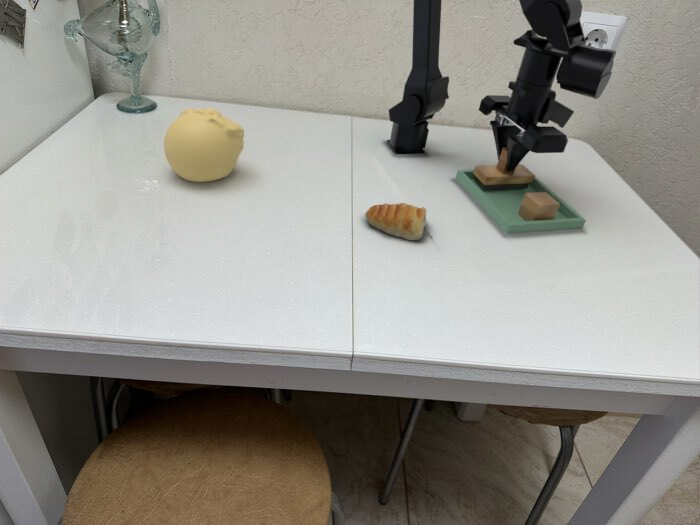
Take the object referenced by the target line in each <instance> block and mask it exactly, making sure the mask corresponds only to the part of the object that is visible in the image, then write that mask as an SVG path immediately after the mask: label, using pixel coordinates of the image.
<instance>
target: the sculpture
mask: <svg viewBox="0 0 700 525" xmlns="http://www.w3.org/2000/svg"><path fill="white" fill-rule="evenodd" d="M244 137H245V130H244V128H243V126H242V125H240V124H239V123H237V122H235V121H233V120H231V119H229V118H227V116H224V115H223V114H222V113H221V112H220V111H218V110H217V109H215V108H212V107H207V108H198V109H195V108H185V109H183V110H181V112H180V115H179V116H178V117H176V119H174V120H173V121H172V122H171V123H170V125H169V127H168V128H167V130H166V132H165V135H164V140H163V151H164V155H165V158H166V161H167V162H168V165H169V166H170V167H171V170H173V171H174V173H175V174H177V175H178V177H180V178H182V179H184V180H186V181H190V182H198V183H202V182H203V183H204V182H212V181H217V180H220V179H223V178H225V177H227V176H229V175H230V174H231V173H232V171H233V170H234V168H235V166H236V164H237V162H238V160H239V157H240V155H241V154H242V152H243V151H244V145H245V141H244Z"/></svg>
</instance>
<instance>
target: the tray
mask: <svg viewBox="0 0 700 525" xmlns="http://www.w3.org/2000/svg"><path fill="white" fill-rule="evenodd" d="M473 172H474V169H459V170H457V172H456V175H455V179H456V180H457V181H458V182H459V183H460V184H461V185H462V187H463V188H464V189H465V190H467V192H468V193H469V194H470V195H471V196H472V197H473V199H475V201H476V202H477V203H478V204H479V205H480V206H481V207H482V208H483V209H484V211H485V212H486V213H487V214H488V215H489V216H490V217H491V218H492V219H493V220H494V221H495V222H496V224H497V225H498V226H499V227H500V228H501V229H502V230H503V231H504V232H505V234H518V233H519V234H520V233H531V232H532V233H533V232H544V231H558V230H571V229H582V228H583V227H584V224H585V223H586V219H585V217H583V216H582V215H581V214H579V213H578V211H576V210H574V208H573V207H571V206H570V205H569V204H568V203H567V202H565V201H564V200H563V199H562V198H560V197H559V196H558V194H556V193H555V192H554V191H552V189H550V188H549V187H548V186H547V185H545V184H544V182H542V181H541V180H539V178H537V177H536V176H535V177H534V180H533V182H532V183H529V185H528V188H519V189H497V190H483V189H482V188H481V187H480V186H479V185H478V184H477V183H476V182H475V181H474V178H475V175H474V174H473ZM537 192H546V193H548V194H549V195H550V196H551V197H552V198H553V199H555V200H556V201H557V202H558V203H559V204H560V206H559V208H558V210H557V213H556V215H555V217H554V220H539V221H525V220H524V219H523V218H522V217H521V216H520V215H519V214H518V212H519V210H520V207H521V204H522V202H523V199H524V196H525V193H537Z"/></svg>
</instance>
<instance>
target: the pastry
mask: <svg viewBox="0 0 700 525" xmlns="http://www.w3.org/2000/svg"><path fill="white" fill-rule="evenodd" d="M365 218H366V221H367V222H368V223H369V225H370V226H372V227H373V228H375V229H377V230H380V231H382V232H384V233H386V234H388V235H391V236H394V237H398V238H403V239H405V240H407V241H408V240H409V241H418V240H419V241H420V239H421V238H422V236H423V234H424V228H425V227H426V225H427V209H426V208H425V207H424V206H422V207H418V206H414V205H412V204H408V203H405V202H399V203H392V204H390V203H383V204H374V205H372V206H370V207H369V209H367V211H366V212H365Z"/></svg>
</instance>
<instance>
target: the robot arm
mask: <svg viewBox="0 0 700 525" xmlns="http://www.w3.org/2000/svg"><path fill="white" fill-rule="evenodd" d="M518 1H519V4H520V8H521V12H522V15H523V16H524V17H525V19H526V21H527V23H528V25H529V26H530V28H531V29H528V30H526V31H525V32H524V34H522V35H520V36H518V37H517V38H515V39H514V40H513V45H514V46H518V47H522V48H525V49H524V52H523V56H522V59H521V62H520V64H519V68H518V71H517V75H516V78H515V80H514V81H513V80H512V81H509V83H508V85H507V88H508V89H510V90H511V94H510V95H498V94H497V95H493V94H490V95H489V94H487V95H486V96H485V97H483V98H482V99H481V100H480V102H479V103H480V104H479V107H478V111H479V112H481V113H482V115H484V116H489V115H491V114H492V112H494V113H495V117H494V120H490V121H489V125H490V126H491V129H492V133H493V138H494V144H495V149H496V156H497V162H498V161H499V158H500V154H501V151H502V148H503V147H507V162H506V170H507V172H512V171H513V170H514V169H515V168H516V167H517V165H518V164H521V162H522V160H523V159H524V158H525V157H526V156H527V155H528V154H529V152H531V153H534V154H561V153H562V154H563V153H564V152H565V150H566V147H567V145H568V142H569V139H568V137H567V134H565V133H564V132H562V131H561V130H559V129H557V127H555V126H553V125H551V126H550V125H549V126H547V125H548V124H549V122H552V123H554V124H556V125H558V127H559V128H562V129H564V128H565V126H566V124H567V123H568V122H569V121H570V119H571V117H572V116H573V115H574V113H575V111H574V109H573V110H572V108H569V107H568V106H566V105H564V104H563V103H561V102H560V101H558V100H556V97H557V92H556V91H555V90H553V89H552V88H553V84H554V81H555V79H556V84H559V89H562V90H564V91H568V92H571V93H574V94H578V95H581V96H585V97H588V98H591V99H594V100H598V99H599V98H600V97H601V96H602V94H603V93H604V91H605V90H606V87H607V86H608V84H609V82H610V79H611V77H612V74H613V71H612V70H613V67H614V62H615V60H614V59H615V57H616V54H617V51H616V50H614V49H609V48H600V47H596V46H593V45H588V44H587V41H586V37H585V34H584V30H583V26H582V22H581V17H582V12H583V3H582V1H581V0H518ZM412 6H413V7H412V9H413V11H412V47H411V48H412V55H411V56H412V57H411V68H410V71H409V74H408V76H407V79H406V81H405V82H404V87H403V92H402V93H403V94H402V99H401V101H399V102H398V103H396V104H395V105H394V106H392V107H390V108H389V109H388V116H389V118H388V119H389V121H390V122H392V127H391V132H390V138H389V139H386V144H387V145H388V147H389V149H391V151H392V152H393V153H394V155H426V154H427V152H426V151H425V148H426V146H427V142H428V136H429V131H430V129H429V121H428V120H432V119H433V118H434V117H435V114H437V113H440V111H441V110H442V109H443V108H444V107H445V105H446V101H447V100H448V99H449V98H450V96H449V90H448V89H449V83H450V77H449V76H448V75H447V76H443V75H442V72H441V70H440V67H439V66H440V65H439V60H440V40H441V19H442V0H413V5H412ZM539 123H540V124H543V125H544V124H546V126H541V125H538V124H539Z"/></svg>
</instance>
